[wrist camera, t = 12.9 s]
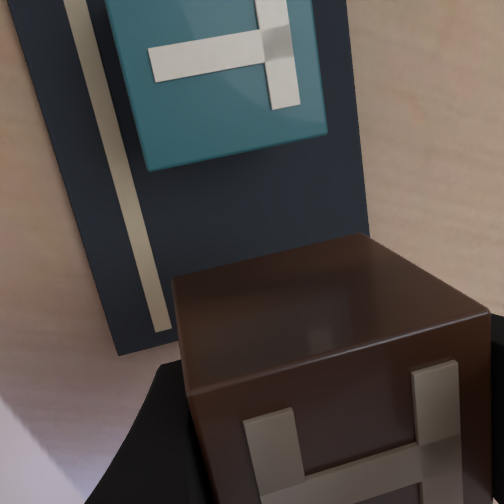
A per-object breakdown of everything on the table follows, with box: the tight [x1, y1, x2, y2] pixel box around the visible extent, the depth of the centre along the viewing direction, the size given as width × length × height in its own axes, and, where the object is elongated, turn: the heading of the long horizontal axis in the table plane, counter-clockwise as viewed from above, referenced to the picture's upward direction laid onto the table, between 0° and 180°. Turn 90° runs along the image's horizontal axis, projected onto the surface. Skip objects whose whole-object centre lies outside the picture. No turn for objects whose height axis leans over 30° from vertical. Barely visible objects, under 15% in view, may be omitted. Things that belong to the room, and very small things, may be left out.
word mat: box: [7, 0, 370, 356], centre depth 15 cm, size 10×18×1 cm, turn 10°
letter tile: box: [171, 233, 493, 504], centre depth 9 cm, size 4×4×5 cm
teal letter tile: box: [104, 0, 328, 172], centre depth 13 cm, size 4×4×5 cm
